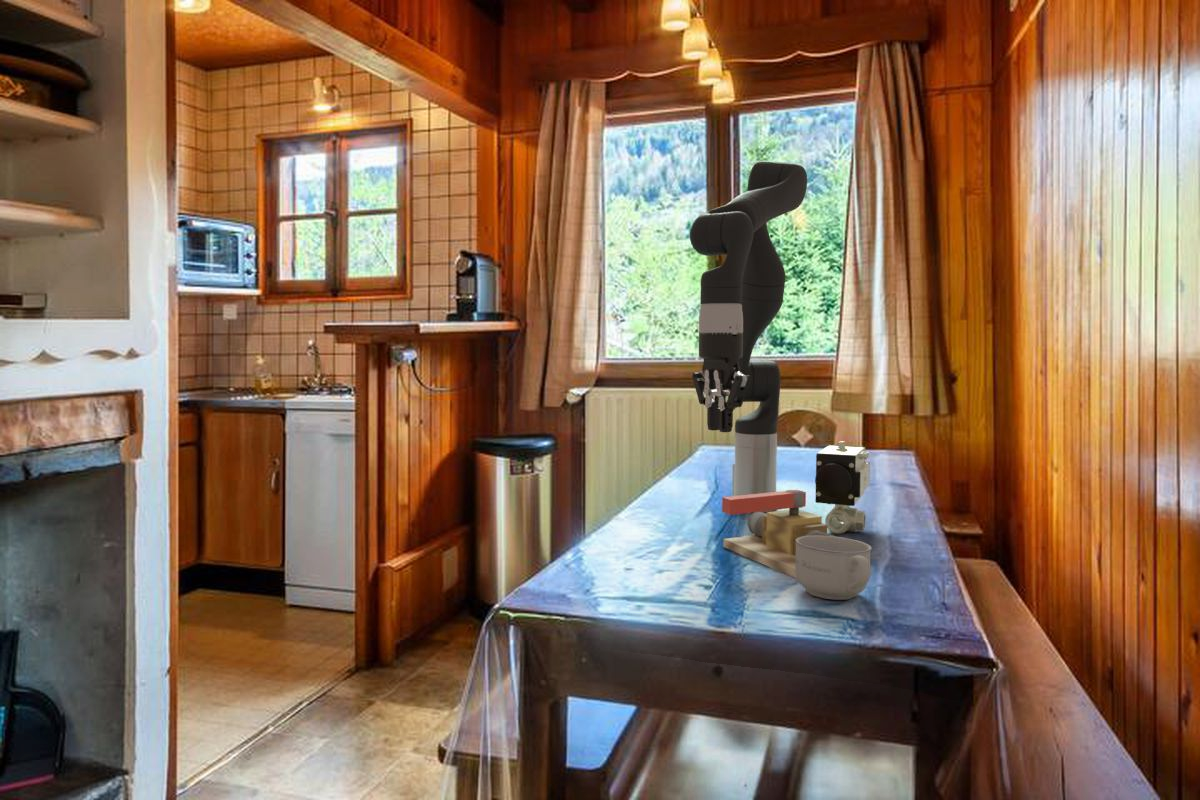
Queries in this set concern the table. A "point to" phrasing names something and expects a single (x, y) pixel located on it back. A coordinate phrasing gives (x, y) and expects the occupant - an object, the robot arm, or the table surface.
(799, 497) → the lever
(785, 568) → the valve fixture
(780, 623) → the table surface
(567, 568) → the table surface
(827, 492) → the ball valve
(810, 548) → the teacup
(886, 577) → the table surface
